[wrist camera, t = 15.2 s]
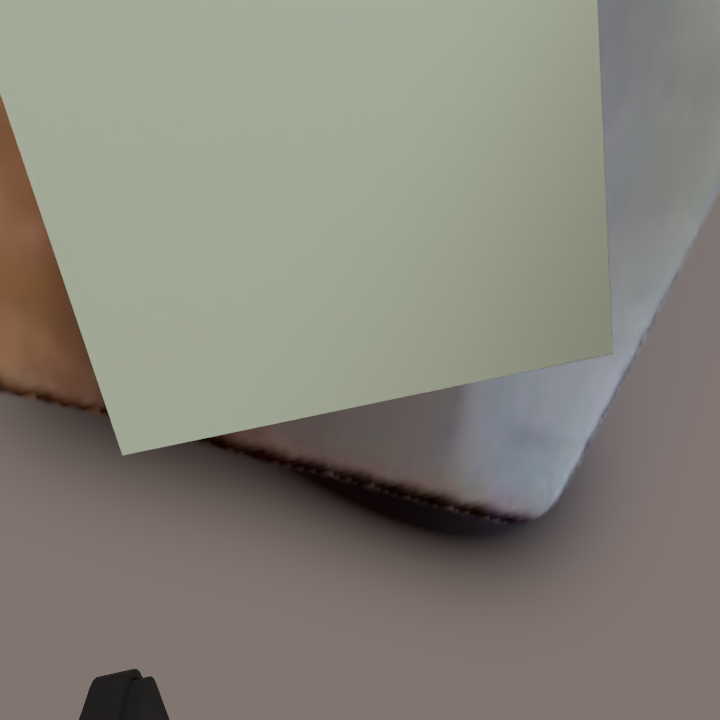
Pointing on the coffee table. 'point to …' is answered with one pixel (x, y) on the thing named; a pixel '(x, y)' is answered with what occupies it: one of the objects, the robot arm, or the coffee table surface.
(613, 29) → the coffee table surface
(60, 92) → the lid
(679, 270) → the coffee table surface
